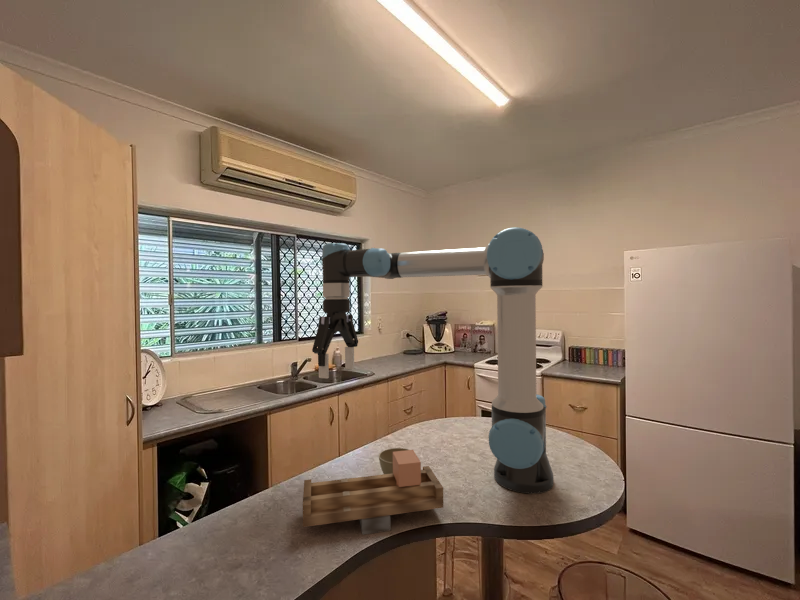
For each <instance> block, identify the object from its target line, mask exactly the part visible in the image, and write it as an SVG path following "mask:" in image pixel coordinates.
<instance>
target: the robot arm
mask: <svg viewBox="0 0 800 600" xmlns="http://www.w3.org/2000/svg"><path fill="white" fill-rule="evenodd" d="M544 254H545V253H544V249H543V245H542V243H541V240H540V239H539V237H538V236H537V235H536V234H535V233H534V232H533V231H531V230H528V229H526V228H524V227H518V226H517V227H508V228H505V229H502V230H501V231H499V232H497V233H496V234H495V235H494V236H493V237H492V238H491V240H490V242H489V243H488V244H487V245H486V246H484V247H483V246H482V247H468V248H455V249H440V250H438V249H436V250H423V251H422V250H420V251H407V252H406V251H405V252H404V251H403V252H390V253H389V252H388V251H387V249H385V248H380V247H379V248H376V247H371V248H362V249H350V246H349V245H348V244H346V243H343V242H341V243H340V242H337V243H335V242H333V243H332V242H330V243H325V244H324V245H323V247H322V255H321V256H322V258H321V265H322V266H321V267H322V297H323V298H325V299H323V300H322V311H323V313H325V314H326V316H319V317H318V328H317V330H316V334H315V338H314V341H313V345H312V349H311V350H312V353H314V354H315V355H317V365H318V378H319V379H329V378H330V372H329V370H330V368H329V367H330V364H329V363H330V361H329V353H327V352H328V350H329V347H330V345H331V343H332V340H333V337H334V335H335V334H337V332H339V334H340V336H341V338H342V339H343V341H344V343H345V345H346V346H345V347H344V367H345V369H347V370H354V369H355V348H357V347H358V344H359V339H358V335H357V331H356V327H355V324H354V321H353V320H354V319H353V314H352V313H349V312H350V309H351V308H350V307H351V304H350V303H351V302H350V301H351V300H350V299H349V298H350V296H351V295H350V293H351V292H350V290H351V289H350V278H358V277H359V278H362V277H365V278H366V277H369V278H380V279H381V278H382V279H386V280H393V279H401V278H403V279H404V278H428V277H429V278H430V277H455V276H456V277H458V276H459V277H462V276H483V275H484V276H485V275H486V276H488V277H489V280H490V285H489V287H490V289H491V290H492V291H493V292H494V293H495V295H496V298H497V300H496V302H497V303H496V304H497V305H496V310H497V311H496V314H497V315H496V316H497V319H496V320H497V325H496V326H497V396H496V397H494V399H493V400H491V428H490V430H489V431H488V432H489V433H488V447H489V449H490V452H491V454H492V455H493V456H494V458H495V459H496V461H495V463H494V469H493V476H494V480H495V481H496V482H497V483H498V484H499V485H501V486H502V487H503V488H505V489H508V490H511V491H513V492H517V493H522V494H542V493H545V492H547V491H550V490H551V489H552V488H553V487H554V483H555V482H554V472H553V470H552V467H551V463H550V461H549V458H548V455H547V421H546V419H547V418H546V416H547V415H546V414H547V413H546V409H547V405H546V399H545V397H544V396H543V395H540V394H537V325H536V324H537V322H536V321H537V319H536V318H537V316H536V315H537V314H536V312H537V311H536V310H537V308H536V307H537V306H536V305H537V304H536V303H537V302H536V300H537V299H536V294H537V293H538V292H539V291H540V290H541V289H543V264H544V259H545V257H544ZM347 313H348V314H347Z"/></svg>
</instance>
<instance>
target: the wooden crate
mask: <svg viewBox="0 0 800 600" xmlns="http://www.w3.org/2000/svg"><path fill="white" fill-rule="evenodd" d="M303 482H304V483H303V495H302V527H303V528H306V527H313V526H321V525H322V526H323V525H327V524H334V523H336V524H337V523H343V522H349V521H356V520H359V525H360V529H361V534H362V535H369V534H376V533H381V532H389V531H392V530H391V516H393V515H400V514H406V513H407V514H408V513H414V512H421V511H422V512H423V511H429V510H430V511H431V510H436V509H444V487H443V485H442V484H441V481H439V479H438V477H437V476H436V474H435V473H434V471H433V470H432V469H431V467H430V465H428V466H422V469H421V484H420V485H412V486H404V487H399V486H396V479H395V476H394V474H393V473H392V474H383V473H382V474H377V475H376V474H375V475H367V476H359V477H358V476H357V477H351V478H350V477H349V478H347V477H346V478H341V479H334V480H333V479H331V480H323V481H315V482H312V479H304V481H303Z"/></svg>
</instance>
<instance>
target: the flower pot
mask: <svg viewBox="0 0 800 600" xmlns="http://www.w3.org/2000/svg"><path fill="white" fill-rule="evenodd" d="M405 450H410V449H409V448H404V447H393V448H387V449H384V450H382V451H380V453H379V454H378V460H379V461H378V462H379V465H380V468H381V471H382V475H383V474H392V473H393V452H395V451H405Z"/></svg>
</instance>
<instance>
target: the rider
mask: <svg viewBox="0 0 800 600" xmlns="http://www.w3.org/2000/svg"><path fill="white" fill-rule="evenodd" d="M421 464H422V461H421V460H420V458H419V457H418V455H417V454H416V452H415V450H414V449H409V450H405V451H395V452H393V474H394V476H395V479H396V486H399V487H404V486H412V485H420V484H421V470H422V465H421Z"/></svg>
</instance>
